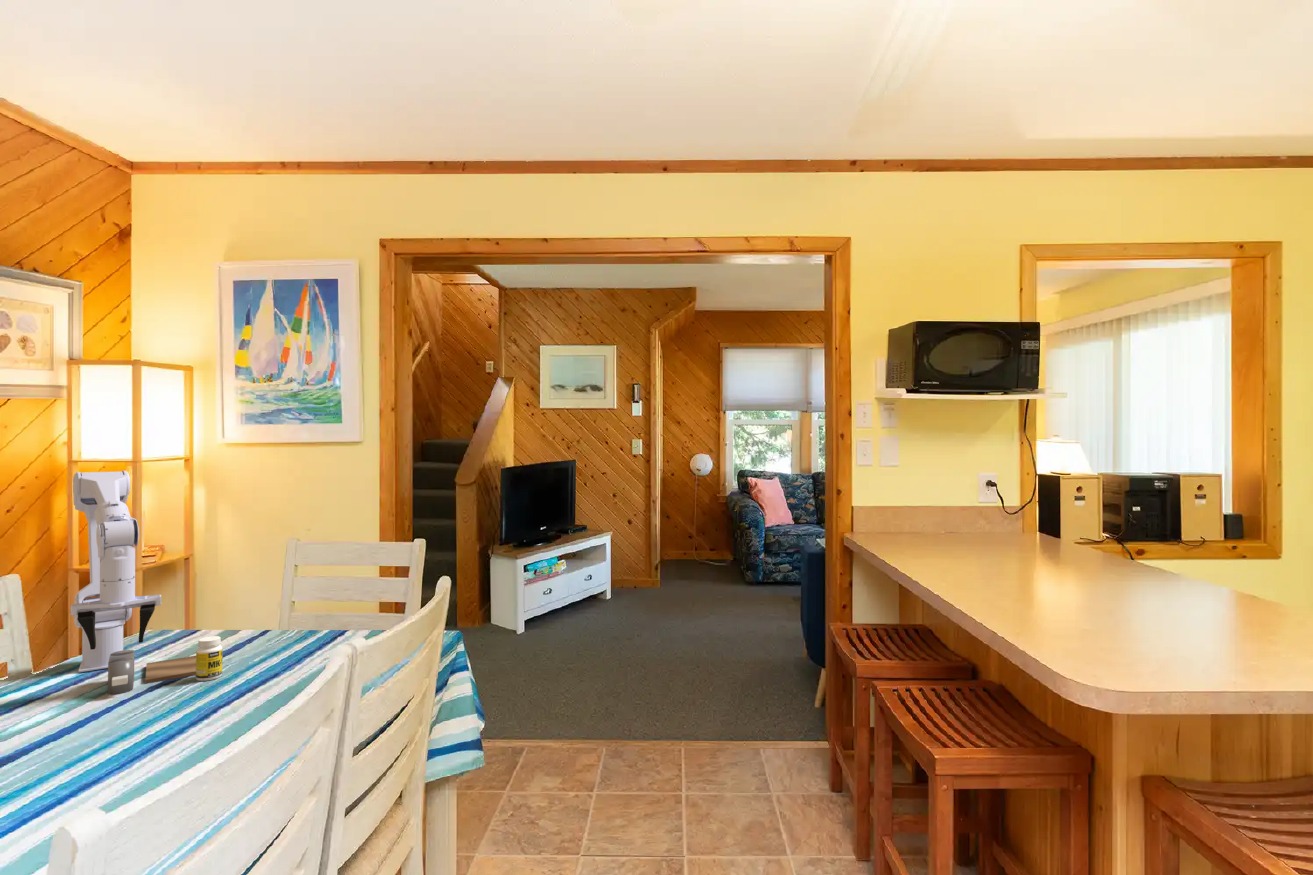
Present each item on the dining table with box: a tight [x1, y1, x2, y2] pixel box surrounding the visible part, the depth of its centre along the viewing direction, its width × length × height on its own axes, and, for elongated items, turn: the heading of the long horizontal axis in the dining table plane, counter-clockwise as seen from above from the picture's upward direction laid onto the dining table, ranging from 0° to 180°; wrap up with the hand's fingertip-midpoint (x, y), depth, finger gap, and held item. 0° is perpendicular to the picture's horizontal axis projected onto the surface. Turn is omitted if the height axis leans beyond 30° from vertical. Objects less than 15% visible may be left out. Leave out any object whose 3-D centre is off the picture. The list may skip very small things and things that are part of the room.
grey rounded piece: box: [107, 649, 135, 696], centre depth 139 cm, size 13×4×6 cm, turn 36°
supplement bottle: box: [195, 635, 223, 682], centre depth 144 cm, size 5×5×8 cm
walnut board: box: [144, 655, 196, 684], centre depth 150 cm, size 13×12×1 cm
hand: (117, 644), depth 138 cm, fingers open, 7 cm apart
